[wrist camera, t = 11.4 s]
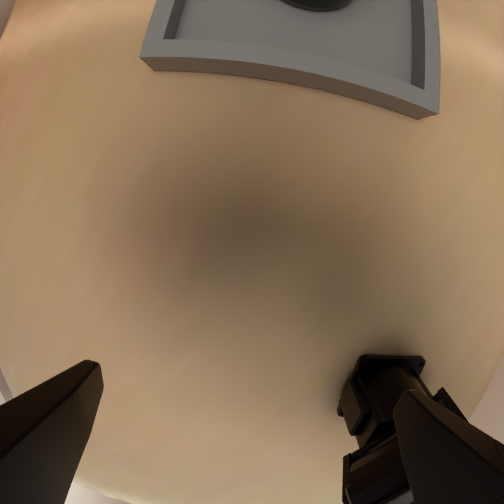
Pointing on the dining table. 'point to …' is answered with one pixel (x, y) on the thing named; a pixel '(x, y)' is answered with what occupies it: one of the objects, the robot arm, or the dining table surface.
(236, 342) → the dining table surface
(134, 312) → the dining table surface
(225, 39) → the tray
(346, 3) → the supplement bottle
